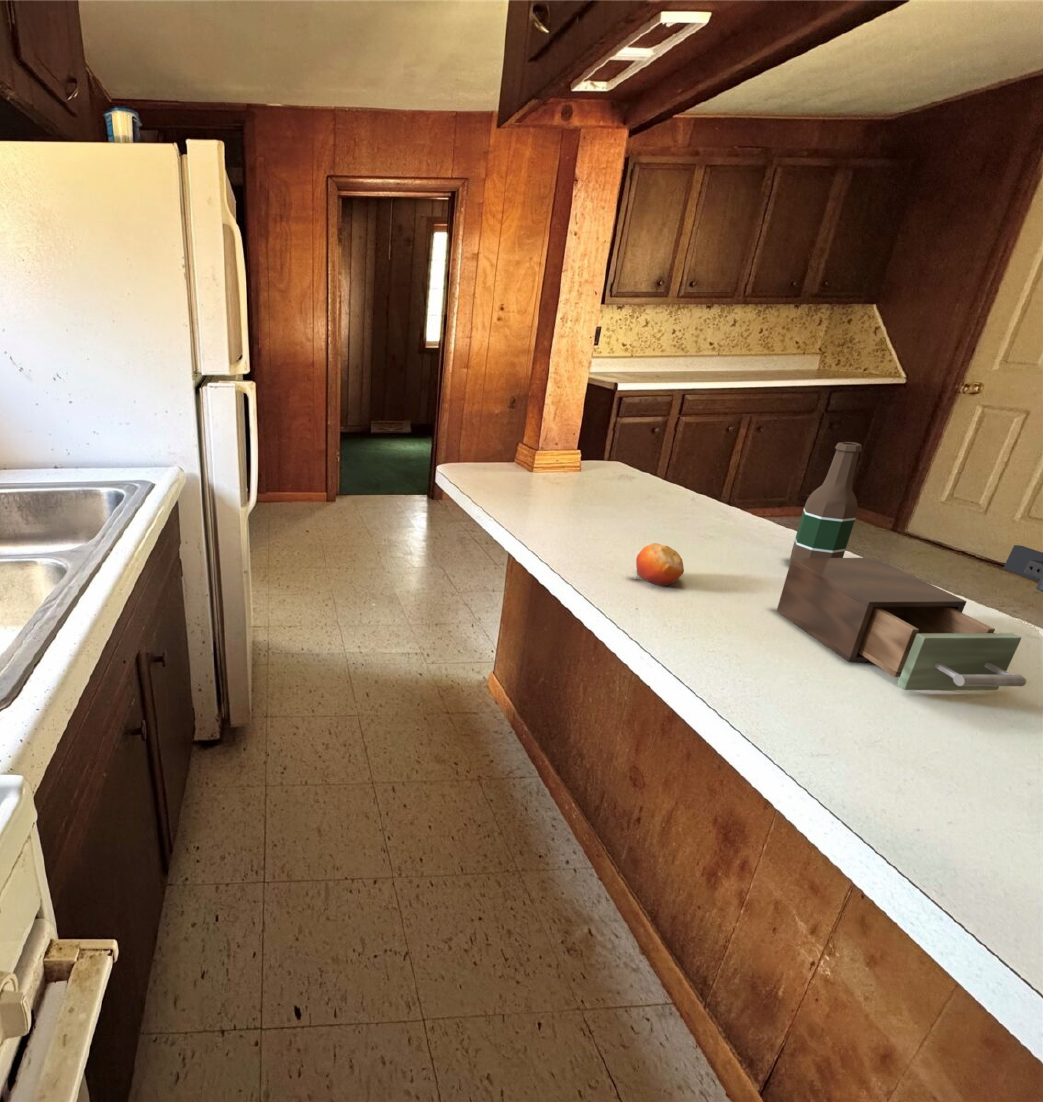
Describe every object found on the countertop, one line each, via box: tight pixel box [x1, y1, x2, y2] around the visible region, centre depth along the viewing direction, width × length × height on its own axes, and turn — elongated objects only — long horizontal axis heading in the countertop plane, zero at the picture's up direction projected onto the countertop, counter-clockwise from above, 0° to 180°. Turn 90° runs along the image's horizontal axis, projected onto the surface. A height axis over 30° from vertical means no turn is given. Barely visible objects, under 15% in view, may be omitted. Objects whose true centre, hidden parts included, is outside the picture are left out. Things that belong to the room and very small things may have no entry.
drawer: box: [858, 606, 1027, 691], centre depth 82 cm, size 19×11×8 cm, turn 177°
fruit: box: [633, 542, 685, 587], centre depth 112 cm, size 8×8×8 cm
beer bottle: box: [789, 441, 863, 561], centre depth 112 cm, size 8×8×24 cm
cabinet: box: [776, 557, 967, 663], centre depth 92 cm, size 16×13×10 cm
